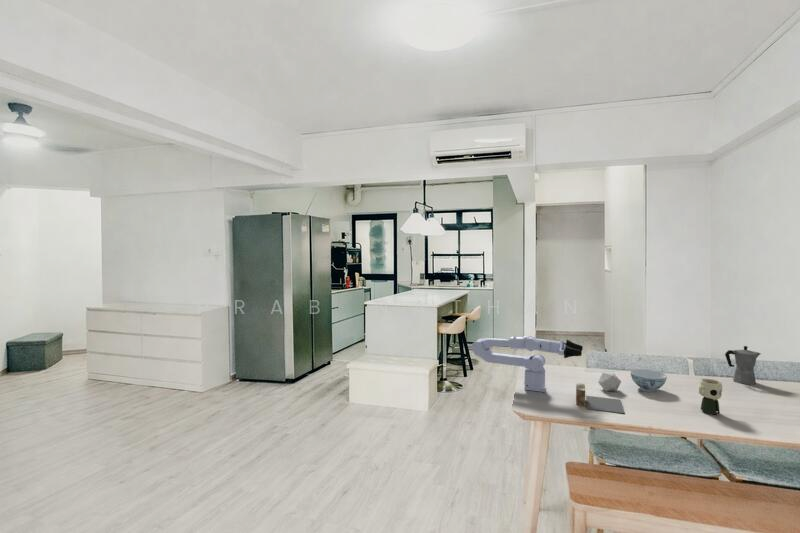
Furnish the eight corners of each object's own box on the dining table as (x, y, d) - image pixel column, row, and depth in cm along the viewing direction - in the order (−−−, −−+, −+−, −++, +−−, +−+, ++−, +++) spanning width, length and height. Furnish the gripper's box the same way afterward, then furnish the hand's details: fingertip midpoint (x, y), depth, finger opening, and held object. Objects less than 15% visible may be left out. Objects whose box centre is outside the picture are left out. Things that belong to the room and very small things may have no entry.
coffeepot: (753, 379, 215) (754, 344, 214) (765, 385, 206) (767, 348, 205) (719, 378, 218) (720, 343, 217) (729, 384, 209) (731, 347, 208)
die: (618, 396, 196) (626, 376, 198) (600, 385, 197) (609, 366, 200) (610, 396, 204) (617, 378, 206) (592, 386, 205) (600, 368, 208)
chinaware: (646, 396, 193) (646, 379, 193) (622, 385, 208) (623, 370, 207) (674, 393, 196) (675, 377, 196) (649, 383, 211) (649, 368, 211)
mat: (587, 409, 179) (587, 408, 179) (586, 396, 194) (586, 395, 194) (624, 413, 174) (624, 412, 174) (620, 400, 189) (620, 399, 189)
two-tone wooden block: (576, 405, 184) (576, 389, 183) (576, 398, 192) (576, 382, 192) (585, 406, 183) (585, 390, 182) (584, 399, 191) (584, 383, 190)
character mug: (706, 417, 170) (707, 384, 169) (691, 410, 177) (692, 379, 176) (729, 414, 172) (730, 383, 171) (713, 408, 179) (714, 377, 178)
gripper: (549, 342, 194) (581, 347, 188) (553, 334, 207) (583, 338, 201) (548, 357, 195) (580, 362, 189) (552, 348, 208) (582, 352, 202)
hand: (582, 350), depth 195 cm, fingers open, 7 cm apart
